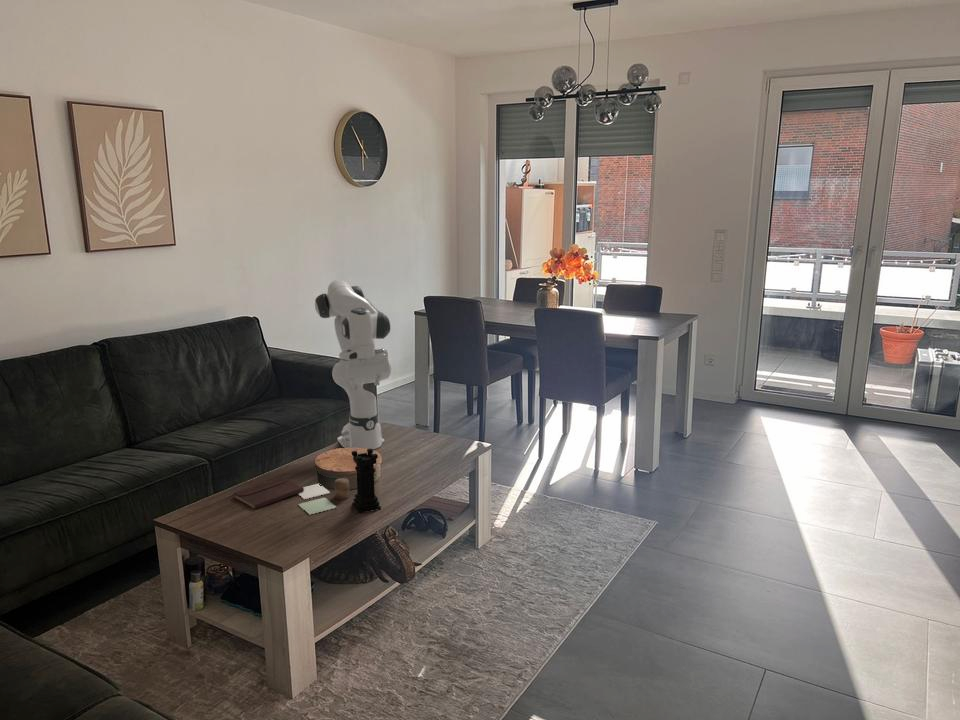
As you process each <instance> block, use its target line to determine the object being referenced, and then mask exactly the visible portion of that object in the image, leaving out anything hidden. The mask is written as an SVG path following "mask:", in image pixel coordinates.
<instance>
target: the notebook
mask: <svg viewBox="0 0 960 720" xmlns="http://www.w3.org/2000/svg"><path fill="white" fill-rule="evenodd" d="M303 487H304V486H301V485H299V484H297V483H295V482H293V481H291V480H289V479H287V478H286V477H284V476H282V475H281V476H278V477H275V478H273V479H269V480H266V481H264V482H261V483H258V484H256V485H253V486H249V487H247V488H244V489H241V490H237V491H234V492H233V498H234V499H236V500H238V501H240V502H241V503H243V504H245V505H246V506H249V507H250V508H252V509H254V510H258V509H260V508H262V507H264V506H267V505H270V504H273V503H276V502H278V501H281V500H284V499H287V498H289V497H292V496H295V495H298V493H300V492H303V491H304V488H303Z"/></svg>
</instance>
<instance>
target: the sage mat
mask: <svg viewBox="0 0 960 720" xmlns="http://www.w3.org/2000/svg"><path fill="white" fill-rule="evenodd" d="M298 505H299V506H298ZM298 505H297V506H298V507H299V508H301V509H302V510H303V511H304V510H305V511H306V512H307V513H308V514H309V516H312V515H311V514H314V515H316V514H315V513H317V514H320V513H319V512H321V513H324V512H323V511H325V512H327V510H328V511H331V509H332V510H335V508H336V509H337V506H336V505H335V504H334V503H332V502H331V501H330V500H329V499H327V498H326V497H321V498H320V497H319V498H317V499H313V500H310V501H309V500H308V501H307V502H301V503H299V504H298ZM305 511H304V512H305ZM306 512H305V513H306ZM307 513H306V514H307ZM308 514H307V515H308Z"/></svg>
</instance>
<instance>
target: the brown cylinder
mask: <svg viewBox="0 0 960 720" xmlns="http://www.w3.org/2000/svg"><path fill="white" fill-rule="evenodd" d="M334 494H335V495H334V496H335V497H334V498H336V499H337V500H345V499H349V498H350V479H348V478H344V477H343V478H341V477H340V478H337V479H335V480H334Z"/></svg>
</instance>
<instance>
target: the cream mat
mask: <svg viewBox="0 0 960 720" xmlns="http://www.w3.org/2000/svg"><path fill="white" fill-rule="evenodd" d="M319 484H320V483H315V484H311V485H307V486H302V487H303V488H304V491H303V492H300V493H298V494H297V495H298V496H299V497H300V496H301V497H300V498H302V500H304V501H305V499H306V500H309V498H310V499H314V498H317V497H322V496H325V495H329V494H331V491H329V490H328V489H327V488H326V487H324V486H323V485H322V486H320V485H321V484H320V485H319ZM321 495H322V496H321ZM313 497H314V498H313Z"/></svg>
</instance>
